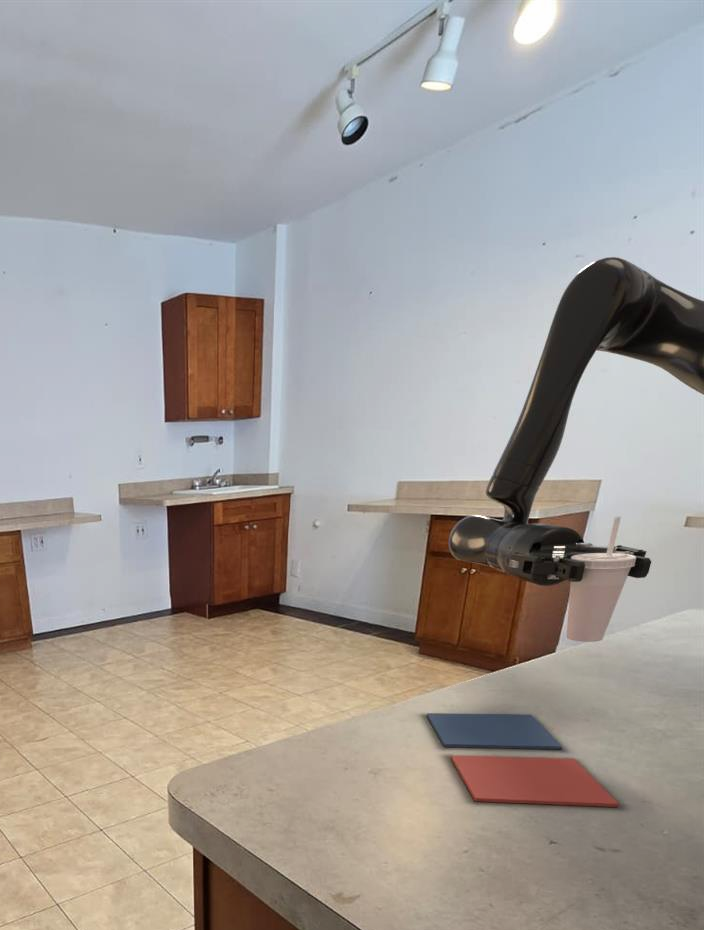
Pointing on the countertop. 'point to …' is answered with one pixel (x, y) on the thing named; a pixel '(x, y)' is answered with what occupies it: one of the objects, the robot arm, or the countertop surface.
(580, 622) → the smoothie
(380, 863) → the countertop surface
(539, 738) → the blue mat
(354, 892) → the countertop surface
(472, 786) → the red mat
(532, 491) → the robot arm
